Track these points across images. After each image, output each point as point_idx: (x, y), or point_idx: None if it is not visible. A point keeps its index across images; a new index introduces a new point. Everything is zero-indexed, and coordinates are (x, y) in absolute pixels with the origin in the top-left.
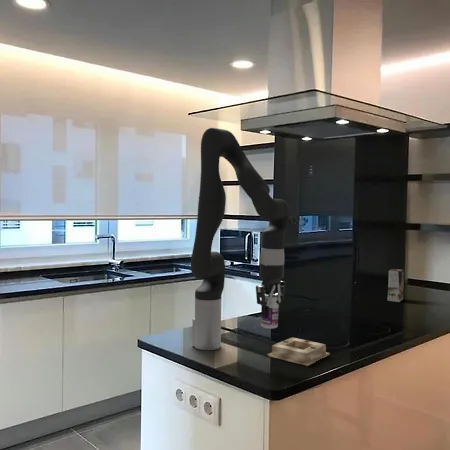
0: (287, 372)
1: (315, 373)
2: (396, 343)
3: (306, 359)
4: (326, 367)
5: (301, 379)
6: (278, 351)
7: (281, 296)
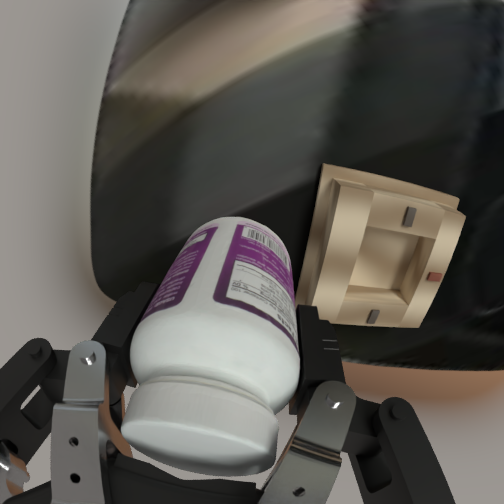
0: None
1: None
2: (490, 366)
3: None
4: None
5: None
6: (331, 211)
7: (355, 460)
